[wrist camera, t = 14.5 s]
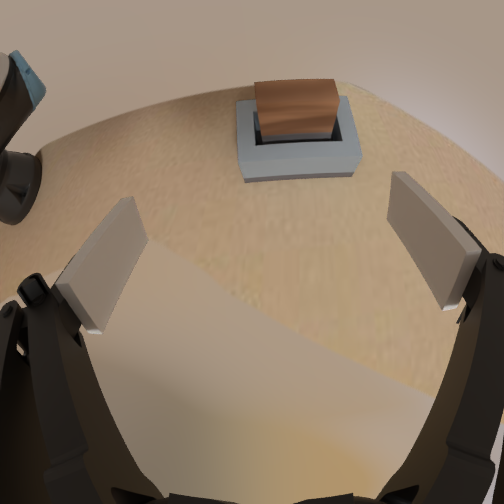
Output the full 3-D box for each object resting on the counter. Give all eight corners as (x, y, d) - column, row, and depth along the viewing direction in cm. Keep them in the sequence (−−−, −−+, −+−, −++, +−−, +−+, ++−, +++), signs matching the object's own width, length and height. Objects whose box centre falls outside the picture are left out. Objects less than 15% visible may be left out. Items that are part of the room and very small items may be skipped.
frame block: (351, 176, 34) (362, 156, 28) (245, 182, 36) (238, 162, 30) (339, 120, 36) (346, 95, 30) (242, 126, 37) (236, 101, 31)
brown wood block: (326, 152, 34) (340, 100, 23) (264, 155, 34) (256, 104, 24) (322, 133, 34) (333, 79, 23) (263, 136, 35) (254, 82, 24)
